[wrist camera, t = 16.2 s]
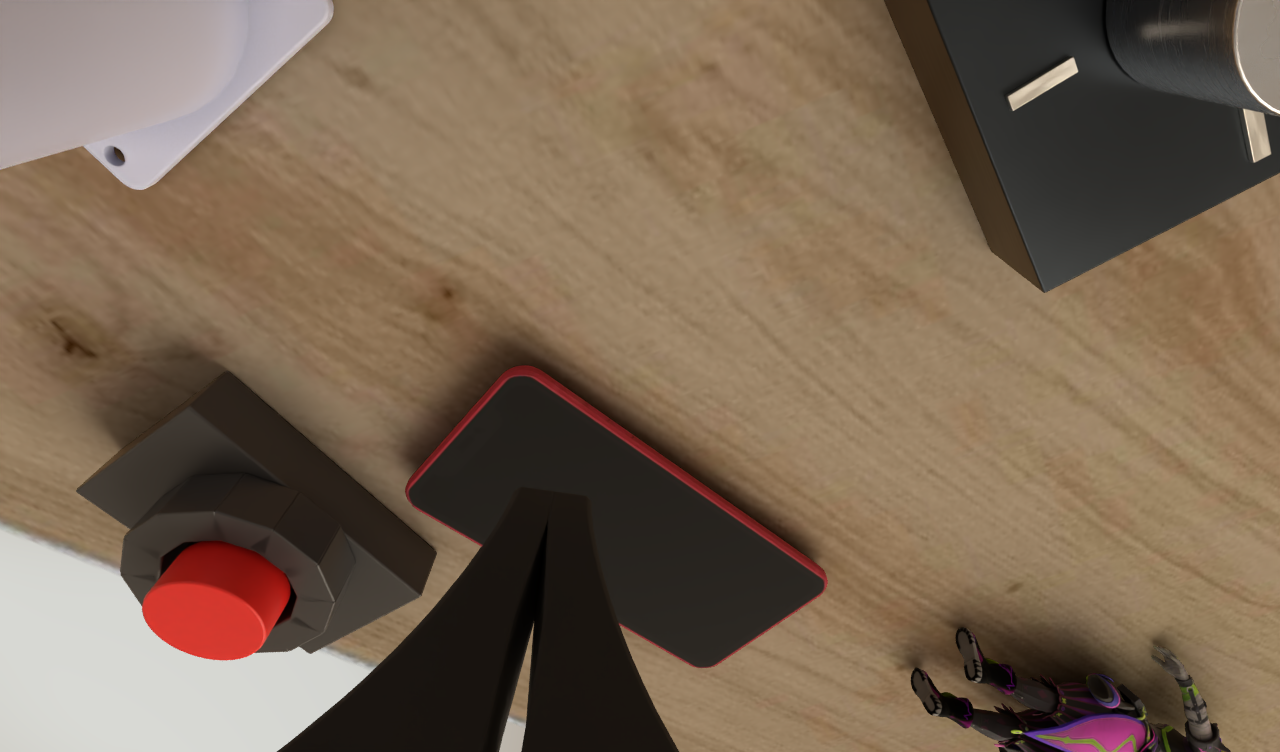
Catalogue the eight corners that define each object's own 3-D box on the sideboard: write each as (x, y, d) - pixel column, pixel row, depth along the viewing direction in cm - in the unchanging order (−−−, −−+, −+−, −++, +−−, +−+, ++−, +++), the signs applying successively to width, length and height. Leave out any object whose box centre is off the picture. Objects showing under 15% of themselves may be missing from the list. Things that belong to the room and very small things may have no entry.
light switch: (115, 453, 23) (24, 534, 20) (232, 365, 22) (153, 438, 18) (329, 611, 28) (283, 700, 24) (443, 549, 26) (411, 636, 22)
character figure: (868, 699, 31) (1131, 796, 34) (891, 782, 28) (1179, 881, 30) (1005, 574, 27) (1294, 697, 29) (1051, 654, 23) (1371, 784, 26)
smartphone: (704, 675, 28) (393, 498, 23) (702, 656, 29) (402, 481, 24) (838, 585, 25) (516, 360, 20) (832, 566, 26) (521, 346, 21)
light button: (153, 567, 21) (115, 612, 20) (224, 521, 20) (190, 565, 19) (244, 629, 23) (215, 675, 21) (314, 589, 22) (289, 634, 20)
